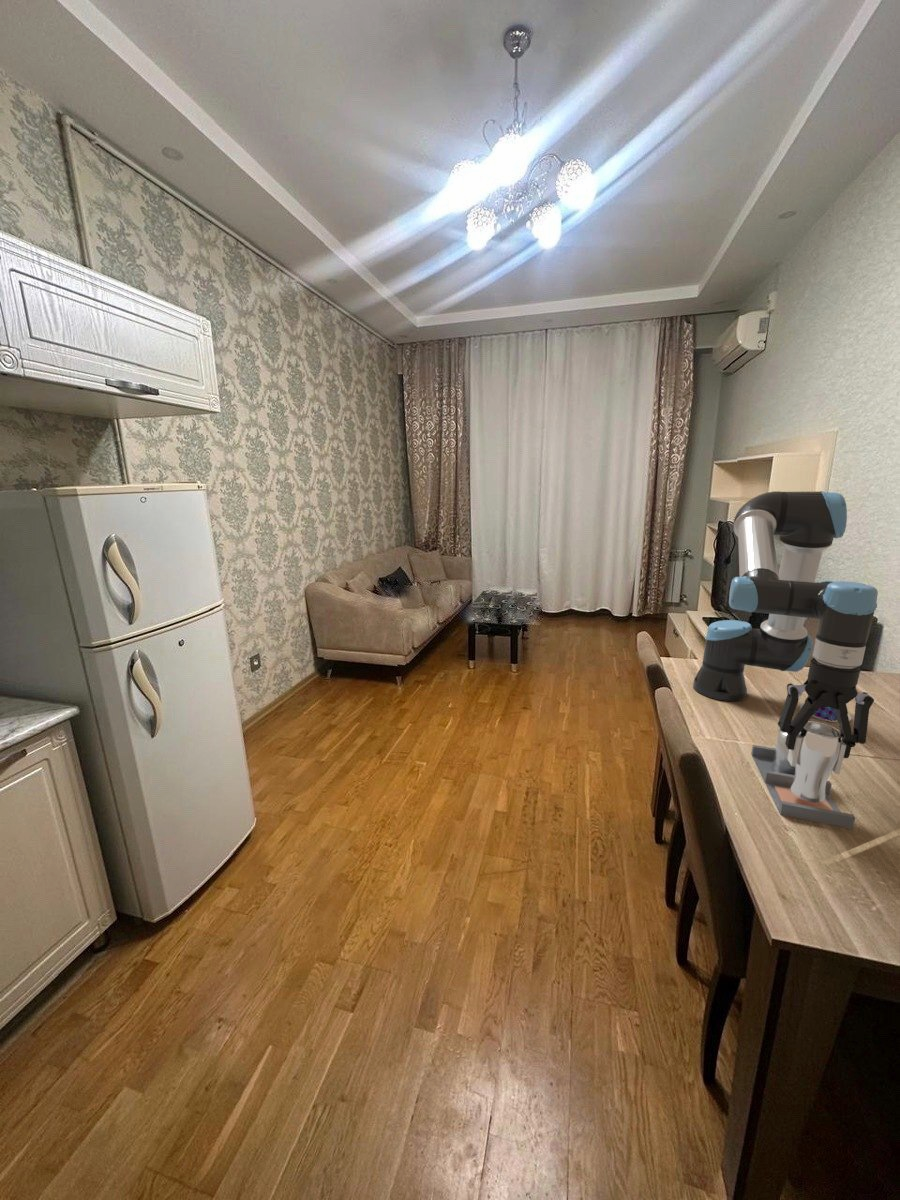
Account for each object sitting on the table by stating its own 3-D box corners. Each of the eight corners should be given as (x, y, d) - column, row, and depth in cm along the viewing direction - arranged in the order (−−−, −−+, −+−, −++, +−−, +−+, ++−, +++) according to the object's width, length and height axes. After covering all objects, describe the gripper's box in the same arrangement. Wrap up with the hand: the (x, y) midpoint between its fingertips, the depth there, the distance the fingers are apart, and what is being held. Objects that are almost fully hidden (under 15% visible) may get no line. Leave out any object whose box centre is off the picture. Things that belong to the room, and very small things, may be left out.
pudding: (862, 724, 132) (866, 707, 130) (819, 724, 132) (823, 708, 130) (828, 705, 143) (831, 689, 142) (789, 705, 143) (792, 689, 142)
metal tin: (765, 768, 110) (773, 730, 107) (783, 762, 112) (791, 725, 109) (791, 783, 104) (800, 743, 102) (809, 777, 106) (818, 738, 104)
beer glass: (779, 787, 99) (791, 724, 96) (799, 779, 102) (812, 717, 98) (814, 808, 93) (829, 741, 89) (835, 799, 96) (851, 733, 92)
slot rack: (750, 756, 116) (752, 744, 115) (808, 766, 112) (810, 754, 111) (779, 817, 95) (782, 803, 94) (851, 832, 91) (855, 817, 90)
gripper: (782, 662, 90) (762, 767, 96) (910, 676, 84) (881, 787, 89) (771, 649, 97) (753, 748, 103) (888, 661, 91) (862, 765, 96)
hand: (812, 766), depth 96 cm, fingers closed on beer glass, 7 cm apart
